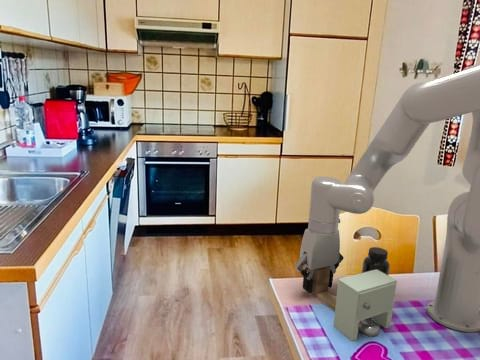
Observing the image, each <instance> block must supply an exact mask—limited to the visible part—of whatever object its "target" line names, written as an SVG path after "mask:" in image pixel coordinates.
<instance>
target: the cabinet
mask: <svg viewBox="0 0 480 360" xmlns="http://www.w3.org/2000/svg"><path fill="white" fill-rule="evenodd" d="M397 282H398V280H397V279H395V278H394V277H392V276H390V275H386V274H384V273H383V272H381V271H379V270H377V269H376V270H372V271H368V272H364V273H362V272H361V273H357V274H353V275H349V276H345V277H342V278H338V281H337V289H336V296H335V297H336V307H335V312H334V319H333V327H334V328H336V330H337V331H339V332H340V333H341V334H343V335H344V336H345V337H346V338H347V339H349V340H350V341H351V342H353V341H355V340H358V333H359V330H358V328H359V321H361V320H364V319H371V320H373V321H375V322H377V323H378V324H379V326H380V327H382V328H384V329H389V328H390V327H391V324H392V317H393V310H394V304H395V299H396V298H395V297H396V291H397Z"/></svg>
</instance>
